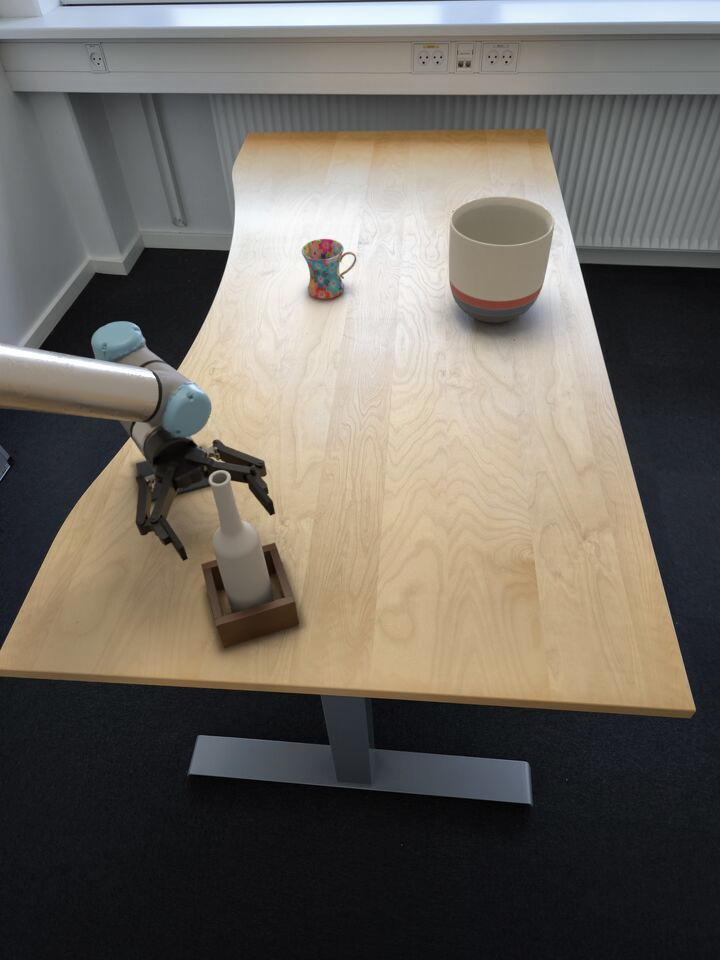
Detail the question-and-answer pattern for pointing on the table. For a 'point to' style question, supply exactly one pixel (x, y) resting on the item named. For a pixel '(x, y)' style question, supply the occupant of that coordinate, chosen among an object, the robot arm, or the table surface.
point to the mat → (147, 470)
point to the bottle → (238, 551)
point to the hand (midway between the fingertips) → (228, 530)
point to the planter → (498, 256)
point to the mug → (325, 267)
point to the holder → (255, 618)
